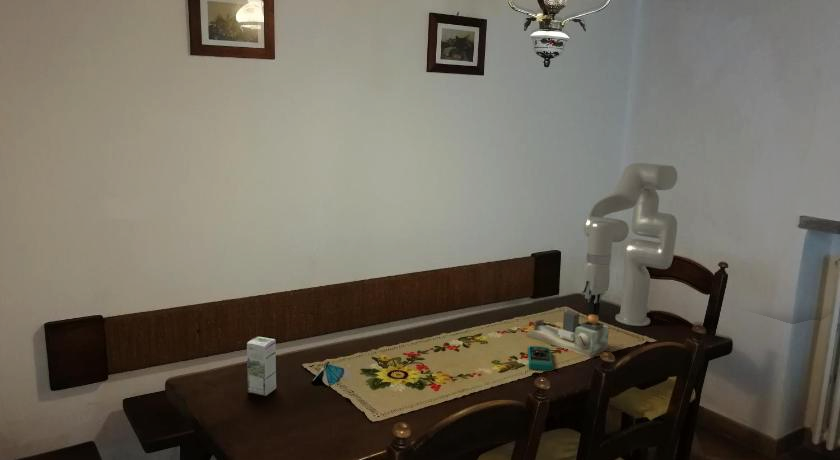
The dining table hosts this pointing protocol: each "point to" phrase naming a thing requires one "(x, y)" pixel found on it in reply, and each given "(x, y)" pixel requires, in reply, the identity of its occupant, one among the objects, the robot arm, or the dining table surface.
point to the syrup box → (261, 365)
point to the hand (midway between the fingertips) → (593, 313)
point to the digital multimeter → (540, 358)
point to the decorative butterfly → (333, 374)
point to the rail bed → (557, 341)
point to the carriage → (569, 325)
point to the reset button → (593, 319)
